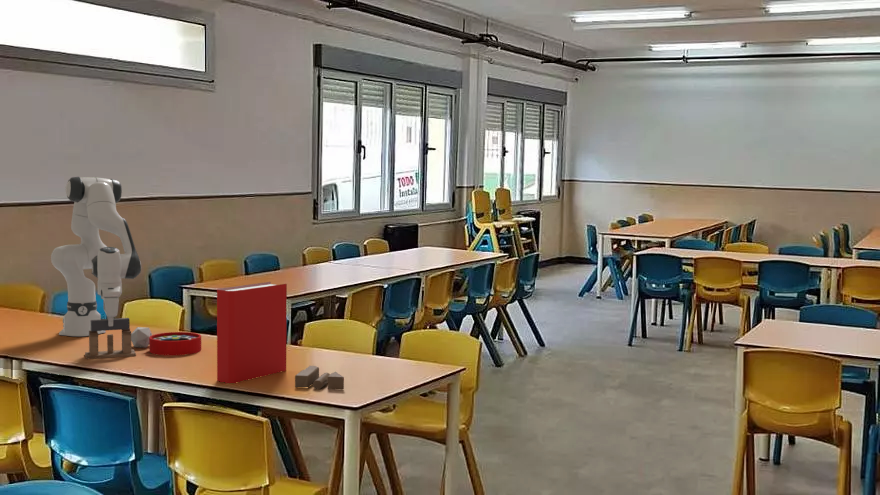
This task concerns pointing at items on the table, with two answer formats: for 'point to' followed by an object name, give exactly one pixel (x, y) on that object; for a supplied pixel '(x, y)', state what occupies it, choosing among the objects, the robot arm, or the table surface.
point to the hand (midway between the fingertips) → (110, 325)
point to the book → (251, 331)
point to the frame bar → (103, 326)
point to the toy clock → (175, 343)
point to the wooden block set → (318, 379)
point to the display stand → (110, 346)
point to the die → (141, 337)
